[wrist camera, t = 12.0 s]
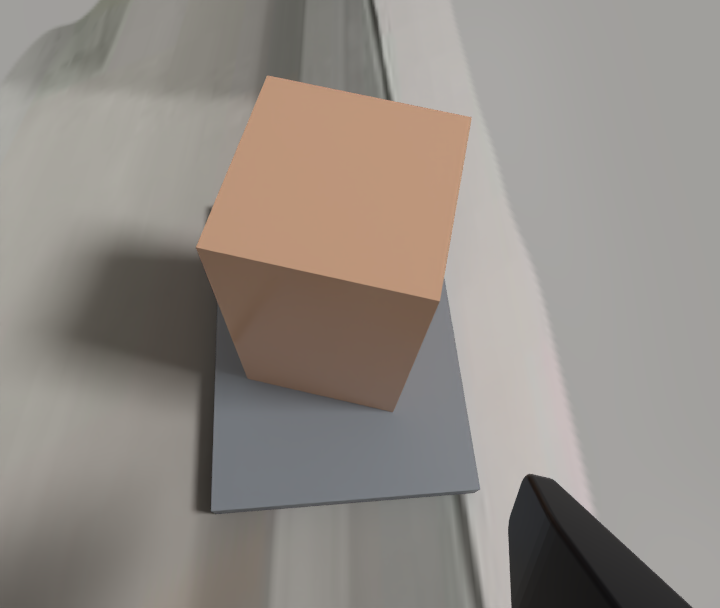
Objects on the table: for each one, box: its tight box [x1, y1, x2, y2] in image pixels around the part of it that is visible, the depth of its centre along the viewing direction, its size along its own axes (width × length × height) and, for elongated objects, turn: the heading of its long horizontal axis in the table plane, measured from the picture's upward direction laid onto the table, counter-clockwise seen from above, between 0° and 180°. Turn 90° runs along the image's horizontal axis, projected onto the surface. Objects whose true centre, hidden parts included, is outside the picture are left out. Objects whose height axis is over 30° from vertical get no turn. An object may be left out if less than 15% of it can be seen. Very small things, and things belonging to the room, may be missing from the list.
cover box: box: [196, 76, 472, 412], centre depth 19 cm, size 6×6×10 cm
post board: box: [211, 279, 480, 514], centre depth 23 cm, size 14×10×4 cm
